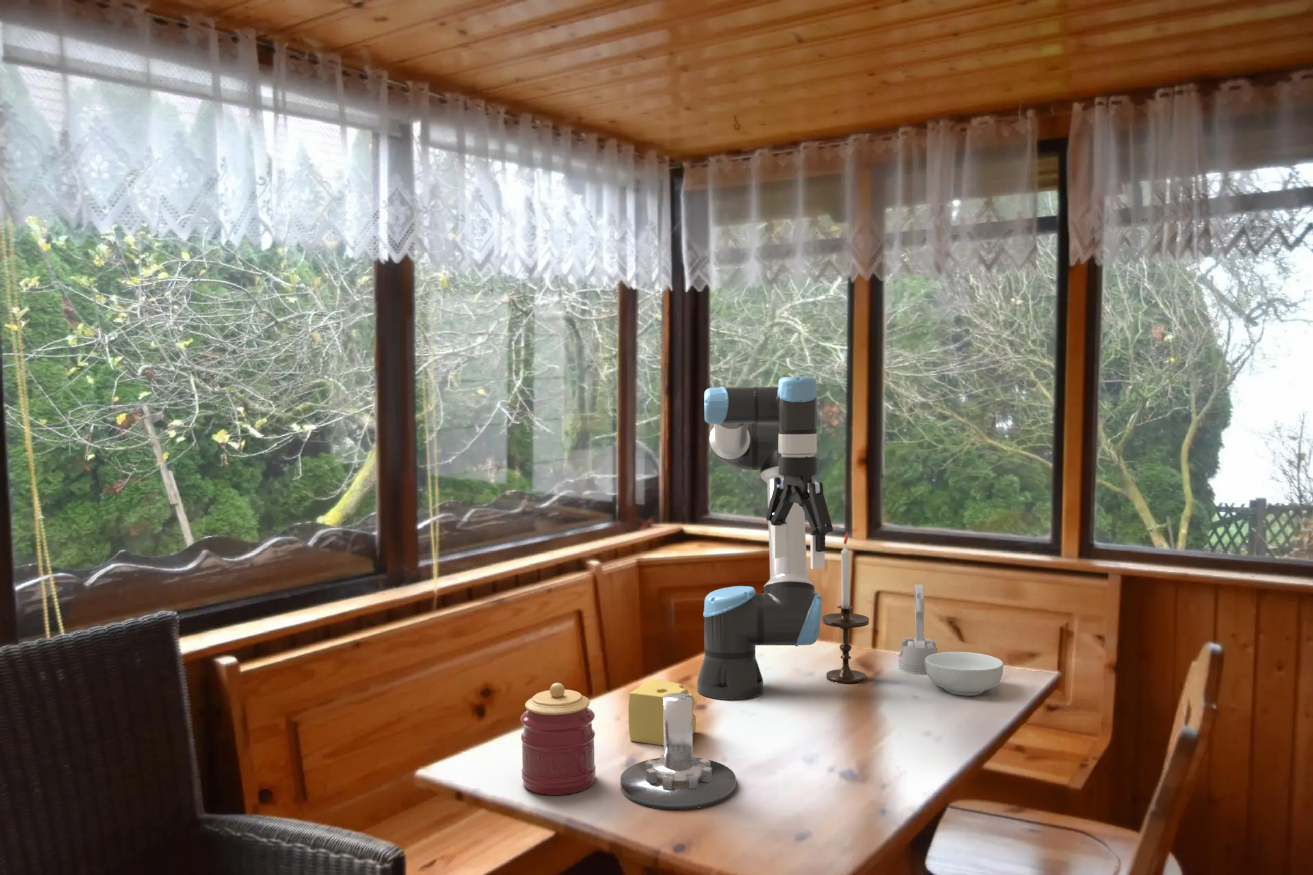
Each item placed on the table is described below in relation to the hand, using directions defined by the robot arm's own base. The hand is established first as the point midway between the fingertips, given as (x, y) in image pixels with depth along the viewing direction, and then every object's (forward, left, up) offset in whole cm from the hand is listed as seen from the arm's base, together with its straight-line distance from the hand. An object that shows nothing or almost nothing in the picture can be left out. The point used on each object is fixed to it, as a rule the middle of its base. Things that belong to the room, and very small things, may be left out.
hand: (798, 562), depth 198 cm
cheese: (-11, -25, -35) cm, 44 cm away
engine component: (-27, +52, -35) cm, 68 cm away
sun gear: (+13, -33, -33) cm, 48 cm away
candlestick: (-28, +31, -35) cm, 54 cm away
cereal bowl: (-8, +49, -35) cm, 61 cm away
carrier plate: (+13, -33, -34) cm, 49 cm away
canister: (+2, -51, -35) cm, 62 cm away
